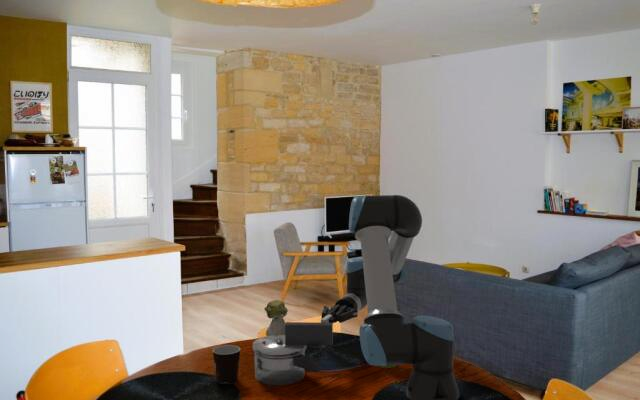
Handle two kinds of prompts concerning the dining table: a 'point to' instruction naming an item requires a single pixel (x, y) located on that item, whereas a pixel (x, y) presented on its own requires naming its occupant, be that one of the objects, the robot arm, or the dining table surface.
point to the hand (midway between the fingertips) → (323, 323)
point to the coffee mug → (226, 363)
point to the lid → (295, 339)
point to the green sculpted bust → (276, 317)
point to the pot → (284, 368)
